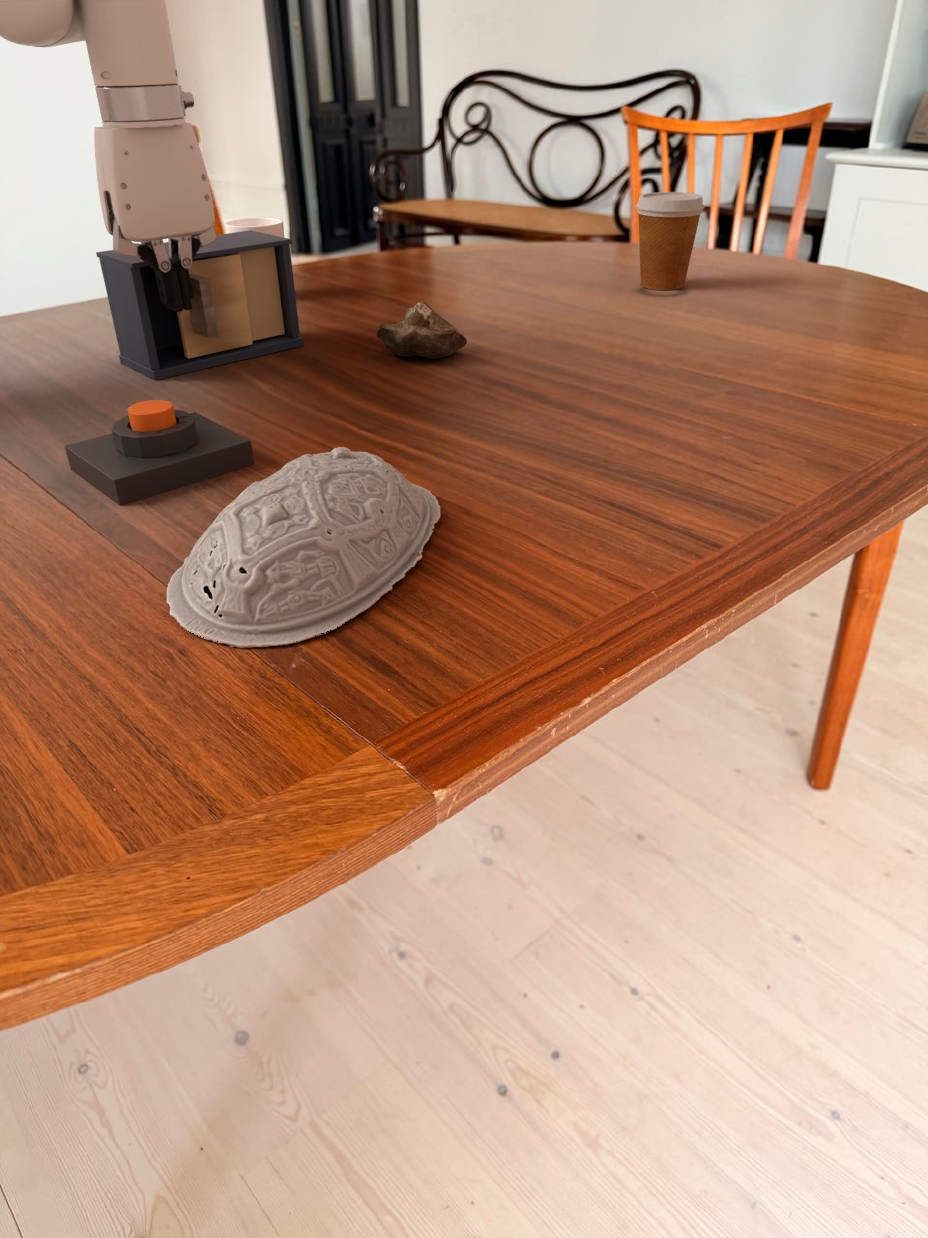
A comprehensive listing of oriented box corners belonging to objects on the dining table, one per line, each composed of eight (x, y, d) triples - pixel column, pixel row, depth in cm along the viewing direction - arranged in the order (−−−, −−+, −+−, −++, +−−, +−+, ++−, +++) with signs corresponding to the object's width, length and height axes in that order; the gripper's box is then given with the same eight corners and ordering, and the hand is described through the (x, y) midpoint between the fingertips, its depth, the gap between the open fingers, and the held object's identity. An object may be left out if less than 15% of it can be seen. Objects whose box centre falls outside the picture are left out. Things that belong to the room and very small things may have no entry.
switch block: (120, 506, 70) (108, 458, 68) (70, 470, 77) (58, 425, 75) (254, 464, 77) (248, 419, 75) (198, 434, 83) (191, 392, 81)
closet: (155, 380, 98) (131, 263, 91) (120, 363, 103) (95, 252, 97) (303, 345, 108) (291, 238, 102) (264, 332, 114) (250, 229, 108)
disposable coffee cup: (626, 278, 137) (632, 191, 130) (689, 278, 136) (699, 190, 130) (633, 293, 129) (640, 201, 122) (700, 292, 128) (711, 200, 122)
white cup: (250, 305, 126) (240, 228, 121) (227, 295, 132) (216, 221, 126) (301, 296, 130) (292, 222, 125) (276, 287, 136) (267, 215, 130)
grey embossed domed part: (106, 611, 56) (93, 512, 52) (306, 477, 76) (307, 399, 72) (331, 682, 52) (334, 580, 48) (478, 521, 72) (487, 441, 69)
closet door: (203, 365, 98) (187, 269, 92) (184, 357, 100) (167, 263, 95) (269, 350, 102) (257, 257, 97) (249, 343, 105) (236, 252, 100)
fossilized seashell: (360, 338, 101) (436, 365, 98) (381, 281, 100) (459, 306, 97) (389, 357, 108) (461, 382, 105) (409, 304, 107) (482, 328, 104)
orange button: (143, 438, 73) (138, 417, 72) (124, 427, 75) (120, 406, 74) (184, 427, 75) (180, 406, 74) (164, 416, 77) (160, 396, 76)
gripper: (195, 103, 91) (224, 291, 101) (47, 111, 83) (95, 315, 93) (232, 104, 87) (259, 302, 96) (79, 113, 78) (125, 328, 88)
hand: (178, 308), depth 95 cm, fingers closed
